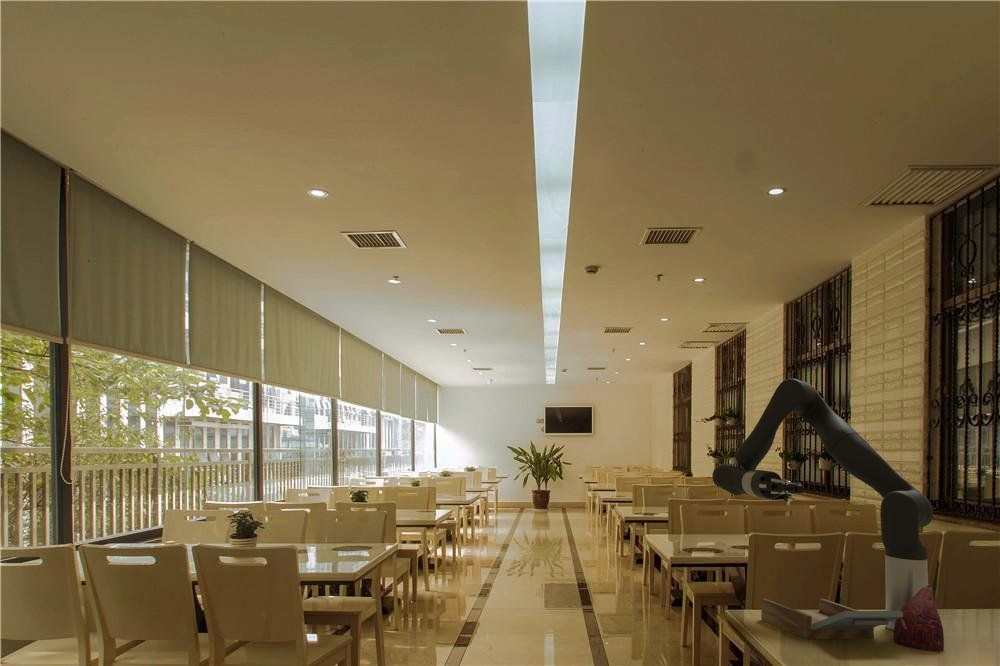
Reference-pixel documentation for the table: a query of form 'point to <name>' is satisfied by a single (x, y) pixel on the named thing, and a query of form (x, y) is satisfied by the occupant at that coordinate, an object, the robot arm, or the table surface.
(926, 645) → the vegetable
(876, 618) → the panel
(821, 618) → the brown wooden tray
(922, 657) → the table surface
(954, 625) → the table surface
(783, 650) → the table surface
